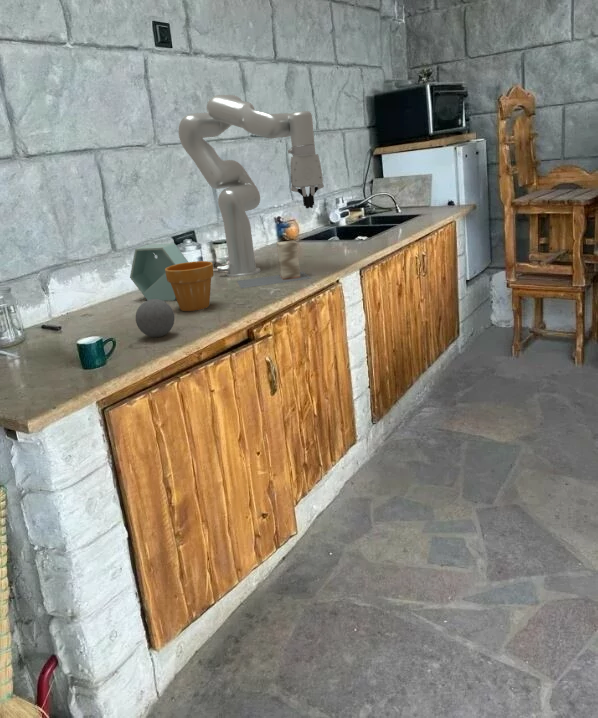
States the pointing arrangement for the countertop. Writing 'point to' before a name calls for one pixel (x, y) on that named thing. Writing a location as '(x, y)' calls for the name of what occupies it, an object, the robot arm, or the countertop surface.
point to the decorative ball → (155, 318)
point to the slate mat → (269, 280)
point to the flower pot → (191, 284)
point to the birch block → (288, 260)
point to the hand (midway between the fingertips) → (309, 207)
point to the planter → (155, 270)
